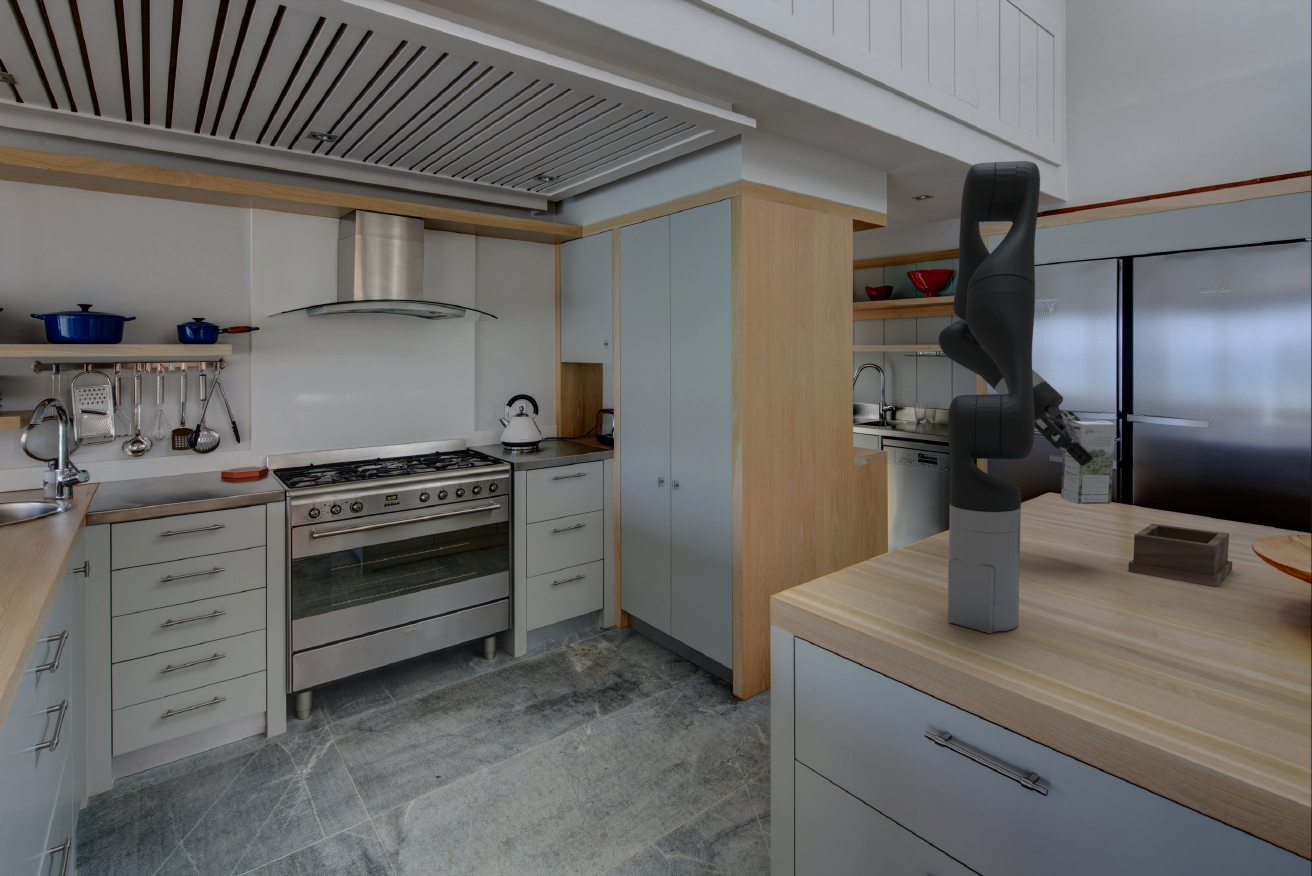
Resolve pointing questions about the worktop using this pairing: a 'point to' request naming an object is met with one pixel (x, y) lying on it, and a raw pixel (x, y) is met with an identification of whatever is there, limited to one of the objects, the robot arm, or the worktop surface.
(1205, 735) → the worktop surface
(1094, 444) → the syrup box
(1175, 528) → the holder
